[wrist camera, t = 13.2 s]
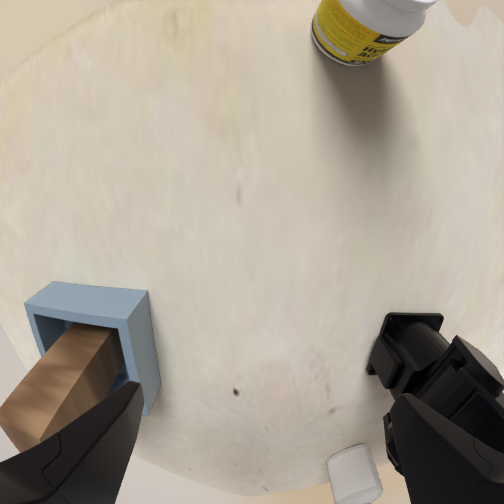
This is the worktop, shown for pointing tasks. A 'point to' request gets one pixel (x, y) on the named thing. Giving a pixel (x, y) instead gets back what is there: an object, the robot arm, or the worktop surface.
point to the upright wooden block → (63, 384)
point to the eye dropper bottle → (354, 476)
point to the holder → (102, 314)
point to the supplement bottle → (365, 27)
